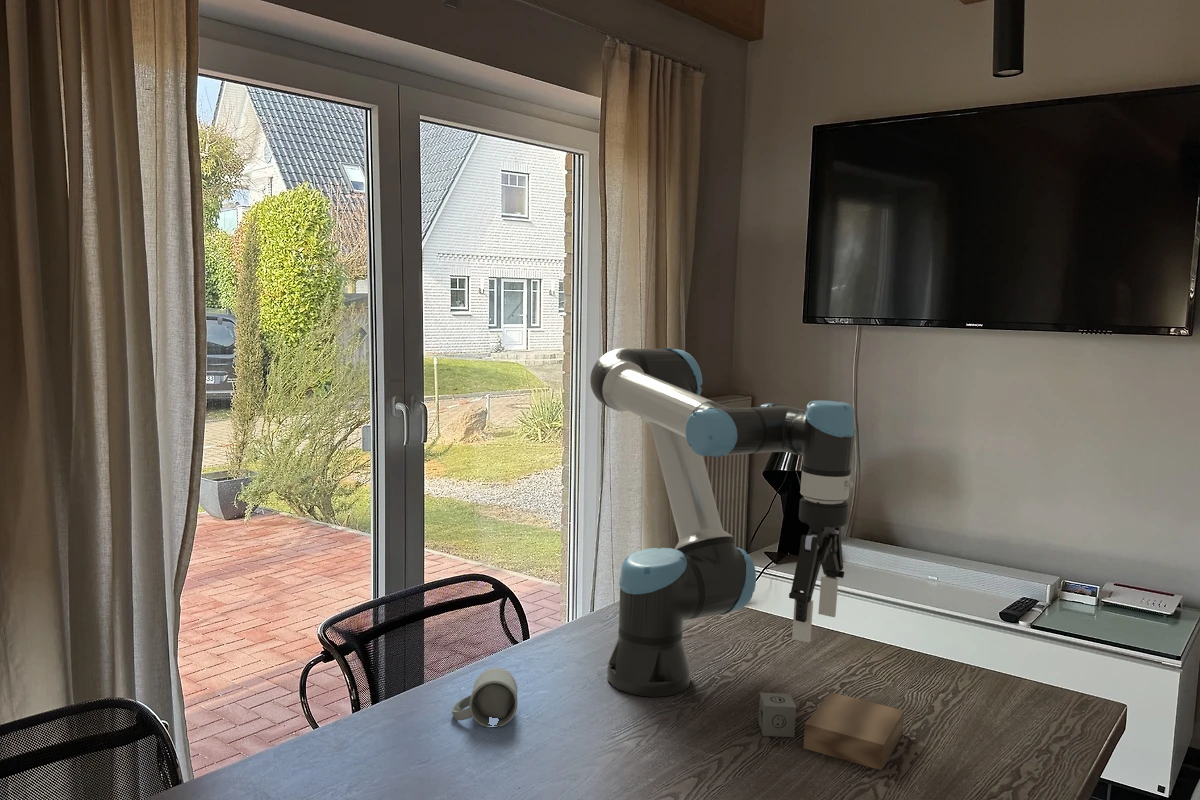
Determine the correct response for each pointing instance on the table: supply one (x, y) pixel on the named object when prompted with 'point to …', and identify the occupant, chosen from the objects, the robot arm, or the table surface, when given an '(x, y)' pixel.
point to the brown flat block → (854, 730)
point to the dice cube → (777, 714)
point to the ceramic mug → (490, 699)
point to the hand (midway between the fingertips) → (814, 627)
